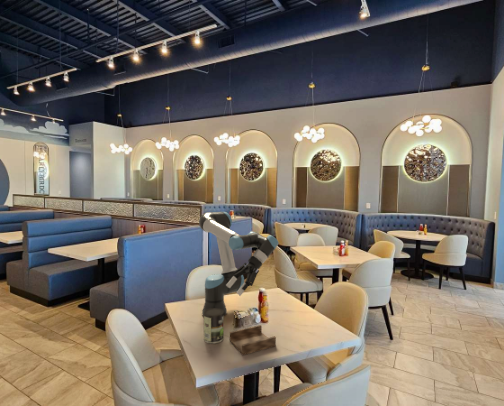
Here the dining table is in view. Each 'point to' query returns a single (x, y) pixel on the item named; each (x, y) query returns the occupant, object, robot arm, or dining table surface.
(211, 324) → the coffee can
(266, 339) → the cradle
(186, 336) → the dining table surface
